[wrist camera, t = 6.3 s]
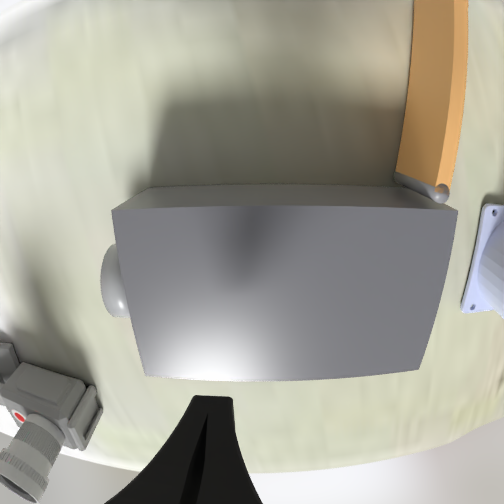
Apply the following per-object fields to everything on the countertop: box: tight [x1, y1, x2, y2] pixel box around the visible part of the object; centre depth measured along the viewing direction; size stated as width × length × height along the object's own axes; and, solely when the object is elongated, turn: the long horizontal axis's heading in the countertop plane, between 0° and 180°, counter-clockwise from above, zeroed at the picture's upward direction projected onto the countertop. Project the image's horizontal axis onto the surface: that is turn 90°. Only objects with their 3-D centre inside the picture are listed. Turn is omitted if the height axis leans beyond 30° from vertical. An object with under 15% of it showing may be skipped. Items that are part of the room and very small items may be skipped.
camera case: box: [101, 184, 458, 381], centre depth 16 cm, size 17×9×5 cm, turn 91°
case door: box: [394, 0, 468, 204], centre depth 12 cm, size 11×2×5 cm, turn 173°
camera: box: [0, 342, 103, 504], centre depth 19 cm, size 9×12×15 cm
